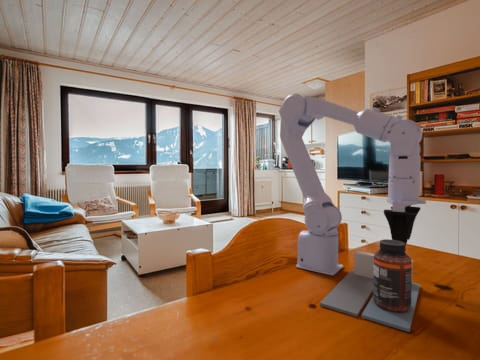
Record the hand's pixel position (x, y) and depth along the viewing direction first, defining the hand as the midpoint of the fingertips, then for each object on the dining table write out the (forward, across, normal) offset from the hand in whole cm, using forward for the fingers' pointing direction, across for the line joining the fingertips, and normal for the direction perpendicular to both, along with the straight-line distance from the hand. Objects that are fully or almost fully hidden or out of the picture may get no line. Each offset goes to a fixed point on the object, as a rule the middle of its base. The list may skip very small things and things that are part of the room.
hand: (401, 242), depth 59 cm
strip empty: (+9, -9, +7) cm, 15 cm away
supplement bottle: (+9, -13, 0) cm, 15 cm away
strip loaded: (+9, -9, 0) cm, 13 cm away
